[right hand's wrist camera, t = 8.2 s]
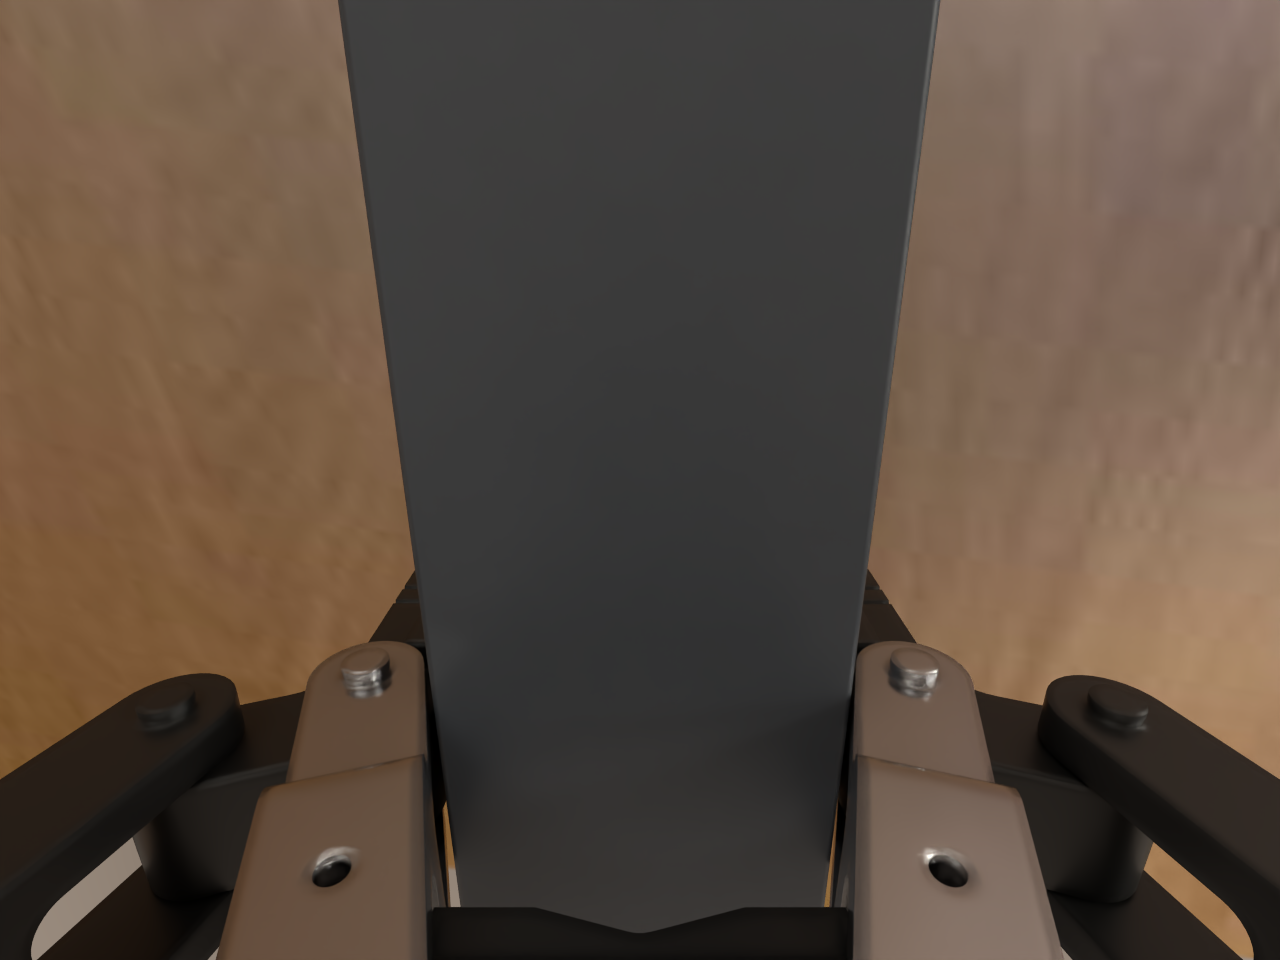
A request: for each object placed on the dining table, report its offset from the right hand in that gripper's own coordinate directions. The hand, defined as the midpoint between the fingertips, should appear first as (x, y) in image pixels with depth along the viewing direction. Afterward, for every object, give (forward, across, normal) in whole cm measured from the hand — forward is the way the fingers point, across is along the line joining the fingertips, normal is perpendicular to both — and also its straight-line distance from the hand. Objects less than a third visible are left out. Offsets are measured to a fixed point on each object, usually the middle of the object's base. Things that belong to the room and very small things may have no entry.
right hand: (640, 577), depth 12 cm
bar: (+3, 0, -26) cm, 26 cm away
